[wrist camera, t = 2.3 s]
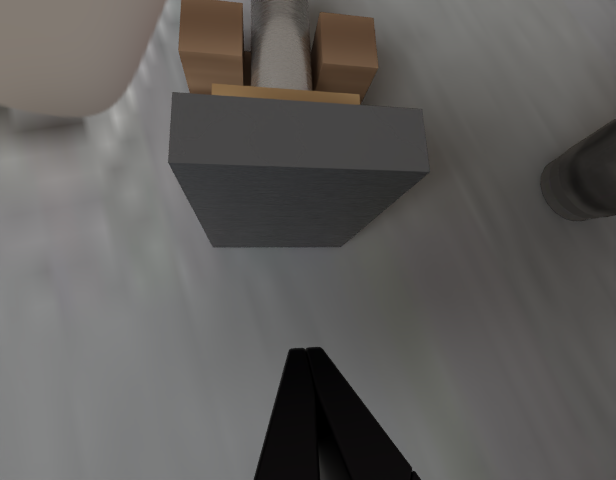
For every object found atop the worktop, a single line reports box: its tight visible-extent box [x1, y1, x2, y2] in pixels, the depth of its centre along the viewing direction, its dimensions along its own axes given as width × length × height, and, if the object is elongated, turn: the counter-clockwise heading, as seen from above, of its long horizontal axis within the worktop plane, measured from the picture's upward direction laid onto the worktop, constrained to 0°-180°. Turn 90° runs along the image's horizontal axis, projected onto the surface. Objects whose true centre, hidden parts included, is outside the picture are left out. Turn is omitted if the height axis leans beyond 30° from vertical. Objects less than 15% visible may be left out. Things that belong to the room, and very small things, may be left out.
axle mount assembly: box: [168, 0, 430, 247], centre depth 15 cm, size 14×7×10 cm, turn 2°
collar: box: [212, 83, 360, 105], centre depth 16 cm, size 2×6×6 cm, turn 92°
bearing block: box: [178, 0, 378, 104], centre depth 19 cm, size 3×9×5 cm, turn 92°
